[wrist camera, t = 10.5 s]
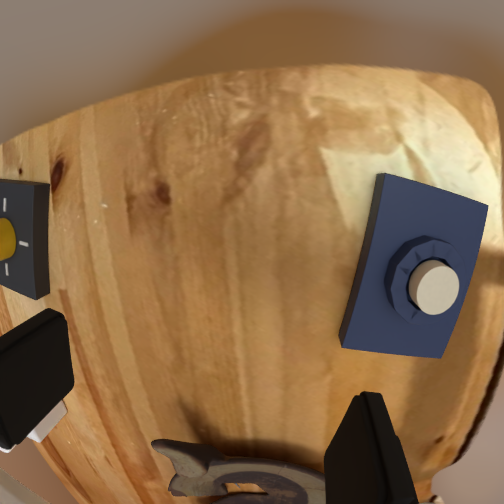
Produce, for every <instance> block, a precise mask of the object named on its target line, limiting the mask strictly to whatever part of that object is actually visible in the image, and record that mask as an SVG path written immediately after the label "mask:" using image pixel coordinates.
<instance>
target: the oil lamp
mask: <svg viewBox="0 0 504 504" xmlns="http://www.w3.org/2000/svg"><path fill="white" fill-rule="evenodd" d="M151 445H152V447H153V449H154V450H156V451H157V452H159V453H161V454H163V455H165V456H167V457H169V458H170V459H171V461H172V463H173V466H174V468H175V471H176V474H175V475H174V476H173V478H172V479H171V481H170V484H169V487H168V491H171V493H172V495H173V496H186V497H187V496H204V495H206V496H209V495H211V496H213V495H226V494H227V493H228V490H227V488H226V486H225V485H224V483H235V484H236V485H237V483H243V484H244V483H254V484H257V485H258V486H259V487H260V488H262V490H264V491H266V492H267V493H268V494H267V495H263V494H249V493H245V494H243V493H241V494H235V495H234V494H231V495H228V496H226V497H222V498H221V499H218V500H217V501H214V502H212V503H210V504H326V494H325V474H323V473H321V472H318V471H316V470H313V469H311V468H308V467H305V466H301V465H298V464H294V463H289V462H285V461H280V460H273V459H266V458H251V457H229V456H226V455H224V454H223V453H221V452H220V451H219V450H217V449H216V448H215V447H213V446H211V445H207V444H196V443H188V442H181V441H174V440H169V439H157V440H154V441H152V442H151ZM237 486H238V485H237ZM238 487H239V486H238ZM239 488H240V487H239Z"/></svg>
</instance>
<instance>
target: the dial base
mask: <svg viewBox="0 0 504 504" xmlns="http://www.w3.org/2000/svg"><path fill="white" fill-rule="evenodd" d="M49 187H50V184H47V183H37V182H27V181H17V180H6V179H0V218H6V219H7V220H9V221H10V223H11V224H12V226H13V228H14V232H15V236H16V248H15V252H14V254H13V255H12V256H11V257H10V258H7V259H4V260H2V261H0V284H1V285H3V286H5V287H7V288H9V289H11V290H14V291H16V292H18V293H20V294H23V295H25V296H27V297H29V298H32V299H34V300H38V299H40V298H42V297H43V296H45V295H47V294H49V293H50V288H49V272H48V203H49Z"/></svg>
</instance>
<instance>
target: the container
mask: <svg viewBox="0 0 504 504" xmlns="http://www.w3.org/2000/svg"><path fill="white" fill-rule="evenodd" d="M66 413H67V409H66V407H65V405H64V403H63V401H62V400H61V401H60V402H59V403H58V404H57V405H56V406H55V407H54V408H53V409H52V410H51V411H50V413H49V414H48V415H47V416H46V417H45V418H44V419H43V420H42V421H41V422H40V423H39V424H38V425H37V426H36V427H35V428H34V429H33V430H32V431H31V432H30V433H29V434H28V436H27V437H29V438H31V439H33V440H35V441H37V442H41V441H42V440H43V439H44V438H45V437H46V436H47V434H48V433H49V432H50V431H51V430H52V429H53V428H54V427H55V425H56V424H57V423H58V422H59V421H60V420H61V419H62V418H63V416H64V415H65V414H66ZM15 446H16V444H15V445H14V446H13V447H12V448H11V449H9V448H8V447H7V446H5V445H4V444H3V443H2V442H0V450H1V451H3V452H5V453H9V452H10V451H11V450H12V449H13V448H14V447H15Z"/></svg>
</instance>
